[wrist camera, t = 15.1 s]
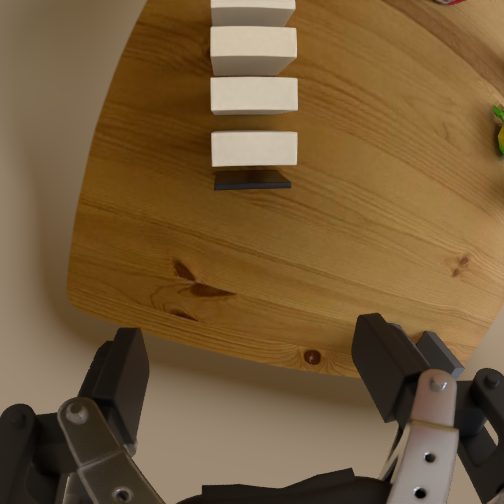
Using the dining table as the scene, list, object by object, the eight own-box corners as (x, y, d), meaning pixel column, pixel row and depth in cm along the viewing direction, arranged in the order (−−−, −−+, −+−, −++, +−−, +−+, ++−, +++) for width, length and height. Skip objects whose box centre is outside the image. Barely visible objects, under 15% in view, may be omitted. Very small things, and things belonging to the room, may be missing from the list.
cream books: (213, 18, 24) (211, -19, 16) (275, 18, 25) (294, -16, 16) (216, 176, 31) (213, 196, 22) (276, 174, 31) (296, 193, 23)
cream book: (214, 131, 29) (211, 132, 21) (276, 130, 29) (297, 132, 21) (215, 155, 30) (211, 166, 22) (276, 154, 30) (296, 165, 22)
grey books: (367, 355, 42) (391, 399, 34) (387, 322, 40) (417, 364, 32) (415, 362, 44) (440, 399, 36) (435, 332, 42) (465, 368, 34)
